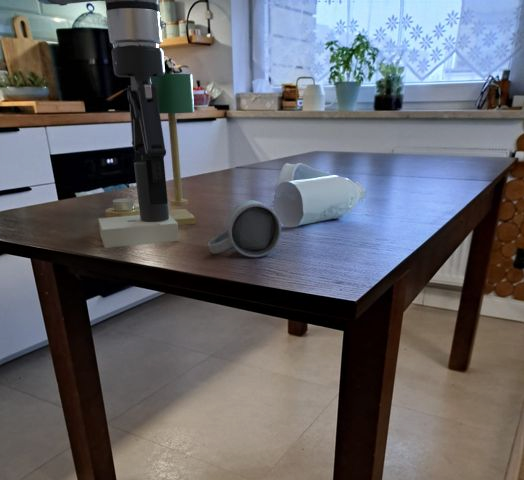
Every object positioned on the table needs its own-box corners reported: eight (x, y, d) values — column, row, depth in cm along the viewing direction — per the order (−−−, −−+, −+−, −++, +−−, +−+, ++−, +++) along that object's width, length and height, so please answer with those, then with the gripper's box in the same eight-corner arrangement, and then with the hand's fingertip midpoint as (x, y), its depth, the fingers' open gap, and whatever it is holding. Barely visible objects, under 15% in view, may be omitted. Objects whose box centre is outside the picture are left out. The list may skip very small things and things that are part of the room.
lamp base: (109, 231, 92) (107, 214, 91) (105, 221, 100) (103, 205, 99) (195, 224, 97) (194, 207, 96) (185, 214, 105) (184, 199, 103)
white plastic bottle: (373, 217, 101) (376, 174, 97) (300, 231, 91) (301, 184, 87) (343, 210, 107) (346, 170, 103) (272, 223, 96) (272, 179, 93)
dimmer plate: (104, 248, 82) (101, 228, 81) (100, 235, 90) (97, 217, 88) (188, 240, 86) (186, 221, 85) (177, 228, 94) (176, 211, 92)
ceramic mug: (272, 242, 84) (271, 193, 80) (282, 256, 77) (281, 203, 73) (206, 247, 82) (203, 197, 79) (210, 261, 75) (206, 207, 72)
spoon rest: (291, 183, 141) (291, 155, 137) (333, 185, 137) (334, 156, 134) (261, 198, 121) (260, 165, 117) (309, 200, 117) (310, 167, 114)
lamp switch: (114, 214, 94) (113, 202, 93) (113, 210, 97) (111, 199, 96) (135, 212, 95) (133, 201, 94) (132, 209, 98) (131, 197, 97)
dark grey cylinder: (171, 220, 86) (166, 161, 82) (142, 222, 85) (135, 162, 80) (166, 214, 90) (161, 158, 86) (138, 217, 89) (131, 159, 85)
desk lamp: (162, 209, 94) (148, 73, 85) (155, 202, 101) (142, 75, 91) (204, 206, 97) (196, 73, 87) (195, 199, 104) (186, 75, 94)
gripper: (178, 39, 67) (190, 208, 77) (150, 53, 87) (162, 185, 97) (118, 38, 65) (139, 212, 74) (104, 52, 85) (122, 188, 95)
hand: (152, 197), depth 86 cm, fingers open, 12 cm apart
